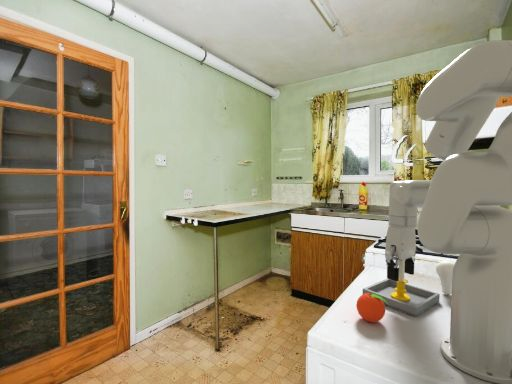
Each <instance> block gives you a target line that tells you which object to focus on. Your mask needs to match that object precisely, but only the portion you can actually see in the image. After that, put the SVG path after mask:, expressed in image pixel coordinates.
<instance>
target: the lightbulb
mask: <svg viewBox="0 0 512 384" xmlns="http://www.w3.org/2000/svg"><path fill="white" fill-rule="evenodd" d="M454 265H455V262H453V261H450V260H442V261H440V262H438V263H437V264H436V267H435V271H436V273H437V275H438V277H439V279H440V285H441V292H442V293H444V295H445V296H449V295H452V273H453V268H454Z"/></svg>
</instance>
